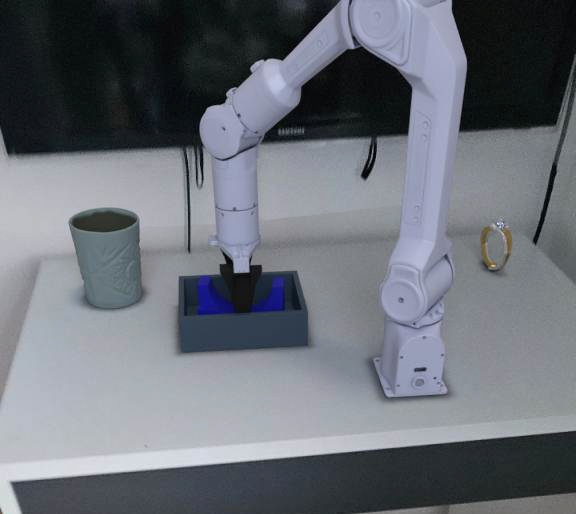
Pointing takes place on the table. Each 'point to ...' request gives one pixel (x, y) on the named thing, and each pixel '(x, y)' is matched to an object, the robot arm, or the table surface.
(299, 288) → the desk bin
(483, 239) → the ring
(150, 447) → the table surface
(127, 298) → the embossed grey cup
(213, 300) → the blue cradle bracket
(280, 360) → the table surface
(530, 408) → the table surface
